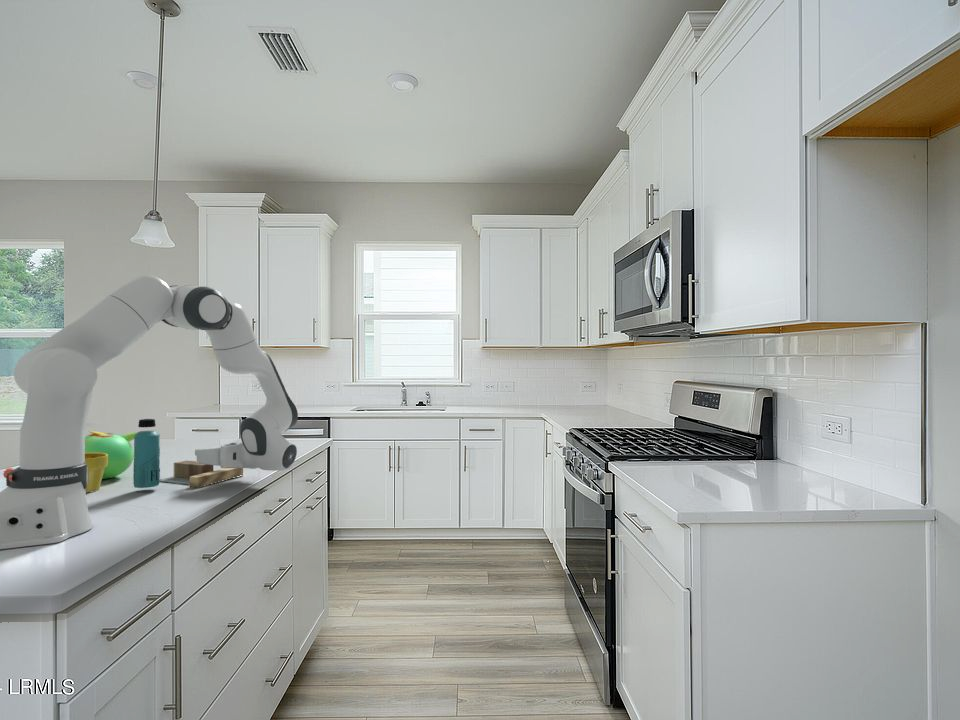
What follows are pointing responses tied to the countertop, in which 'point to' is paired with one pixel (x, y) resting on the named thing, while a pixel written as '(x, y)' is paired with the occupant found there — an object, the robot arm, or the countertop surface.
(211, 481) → the oak rail
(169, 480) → the grey mat
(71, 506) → the robot arm
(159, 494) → the countertop surface
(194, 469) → the walnut block
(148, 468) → the beverage bottle
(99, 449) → the green rounded body
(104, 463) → the plant pot
